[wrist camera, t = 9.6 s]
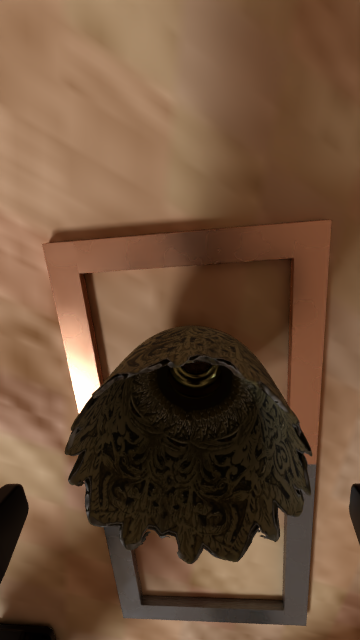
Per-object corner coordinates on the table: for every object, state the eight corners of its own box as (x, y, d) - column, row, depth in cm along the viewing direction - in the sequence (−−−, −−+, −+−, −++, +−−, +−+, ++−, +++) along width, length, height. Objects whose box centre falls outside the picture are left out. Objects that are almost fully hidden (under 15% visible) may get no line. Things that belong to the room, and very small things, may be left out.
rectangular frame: (303, 615, 23) (306, 625, 22) (125, 608, 24) (123, 617, 24) (326, 219, 14) (331, 219, 14) (47, 242, 16) (42, 244, 15)
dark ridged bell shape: (290, 316, 16) (363, 414, 8) (240, 433, 18) (262, 591, 11) (144, 273, 16) (84, 333, 8) (114, 397, 18) (48, 530, 11)
